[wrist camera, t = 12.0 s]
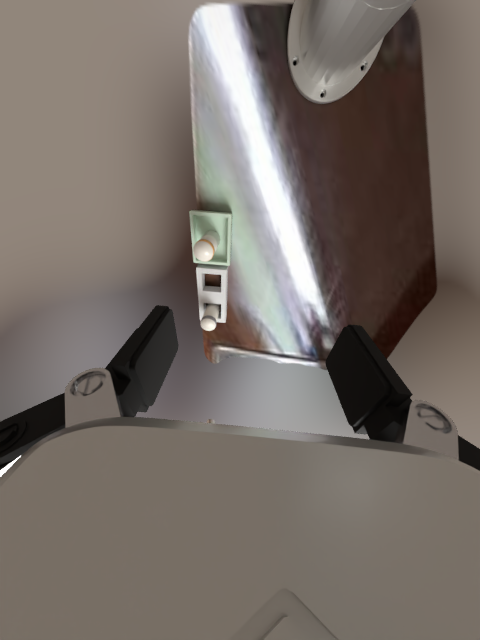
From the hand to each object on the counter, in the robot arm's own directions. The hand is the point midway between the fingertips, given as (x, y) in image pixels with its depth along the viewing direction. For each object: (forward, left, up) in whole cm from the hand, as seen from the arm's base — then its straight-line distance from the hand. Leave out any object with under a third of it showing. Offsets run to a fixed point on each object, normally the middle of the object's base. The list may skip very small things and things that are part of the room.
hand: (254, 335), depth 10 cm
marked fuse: (+3, -9, -35) cm, 36 cm away
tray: (+3, -9, -36) cm, 37 cm away
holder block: (+17, -9, -36) cm, 40 cm away
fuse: (+21, -9, -36) cm, 42 cm away
